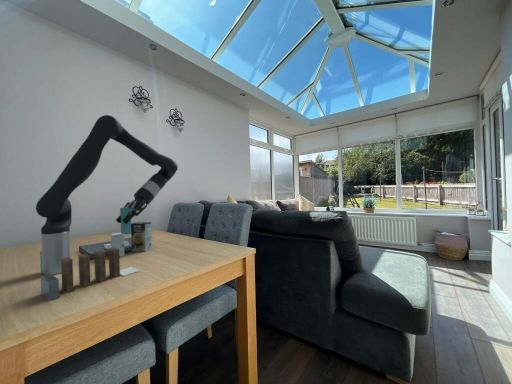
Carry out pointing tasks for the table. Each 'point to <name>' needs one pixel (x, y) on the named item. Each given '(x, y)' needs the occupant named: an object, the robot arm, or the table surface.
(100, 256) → the domino
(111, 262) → the domino
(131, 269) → the slot marker
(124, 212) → the teal domino
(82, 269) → the domino
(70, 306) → the table surface
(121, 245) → the skincare box
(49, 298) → the end stop
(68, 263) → the domino
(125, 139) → the robot arm
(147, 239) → the coffee box
